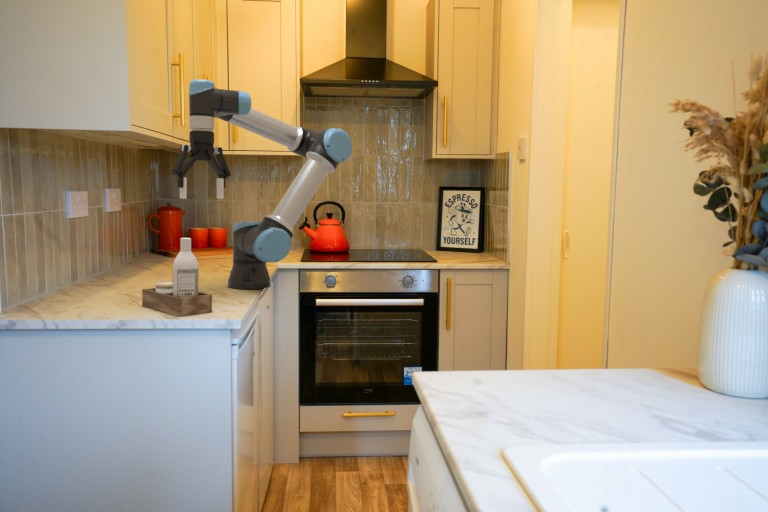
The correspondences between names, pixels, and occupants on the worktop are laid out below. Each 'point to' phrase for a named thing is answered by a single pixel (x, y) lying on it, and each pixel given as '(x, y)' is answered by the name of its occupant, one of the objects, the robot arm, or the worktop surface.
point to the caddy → (176, 303)
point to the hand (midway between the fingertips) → (202, 198)
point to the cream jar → (164, 286)
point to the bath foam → (185, 271)
